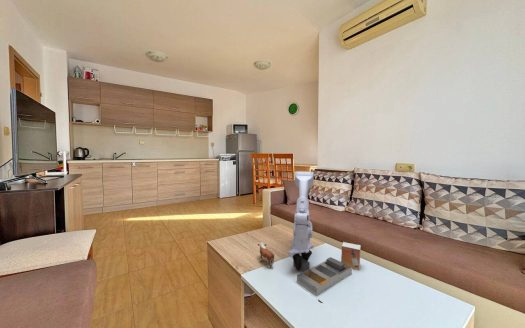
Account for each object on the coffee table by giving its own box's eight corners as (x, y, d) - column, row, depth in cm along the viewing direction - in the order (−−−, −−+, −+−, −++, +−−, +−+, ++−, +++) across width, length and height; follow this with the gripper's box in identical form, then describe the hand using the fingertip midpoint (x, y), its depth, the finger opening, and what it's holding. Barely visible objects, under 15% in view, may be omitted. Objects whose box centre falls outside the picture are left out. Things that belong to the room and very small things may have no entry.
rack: (296, 284, 86) (296, 274, 86) (331, 265, 100) (332, 257, 100) (316, 297, 78) (316, 287, 78) (351, 275, 92) (351, 266, 92)
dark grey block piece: (293, 268, 98) (293, 257, 98) (297, 266, 100) (297, 255, 99) (304, 275, 92) (304, 264, 92) (309, 272, 94) (309, 262, 94)
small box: (340, 267, 98) (341, 245, 98) (342, 262, 103) (342, 241, 103) (359, 272, 95) (360, 249, 94) (360, 266, 100) (360, 244, 99)
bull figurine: (263, 255, 110) (263, 240, 109) (276, 268, 97) (276, 251, 97) (255, 257, 108) (256, 241, 107) (267, 270, 96) (267, 253, 95)
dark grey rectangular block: (326, 269, 95) (326, 259, 95) (330, 267, 97) (330, 257, 97) (340, 277, 89) (340, 265, 89) (343, 274, 91) (344, 263, 91)
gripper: (296, 245, 88) (296, 276, 88) (318, 237, 96) (318, 265, 97) (285, 239, 93) (284, 269, 94) (307, 232, 102) (306, 259, 103)
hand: (301, 267), depth 96 cm, fingers open, 4 cm apart
